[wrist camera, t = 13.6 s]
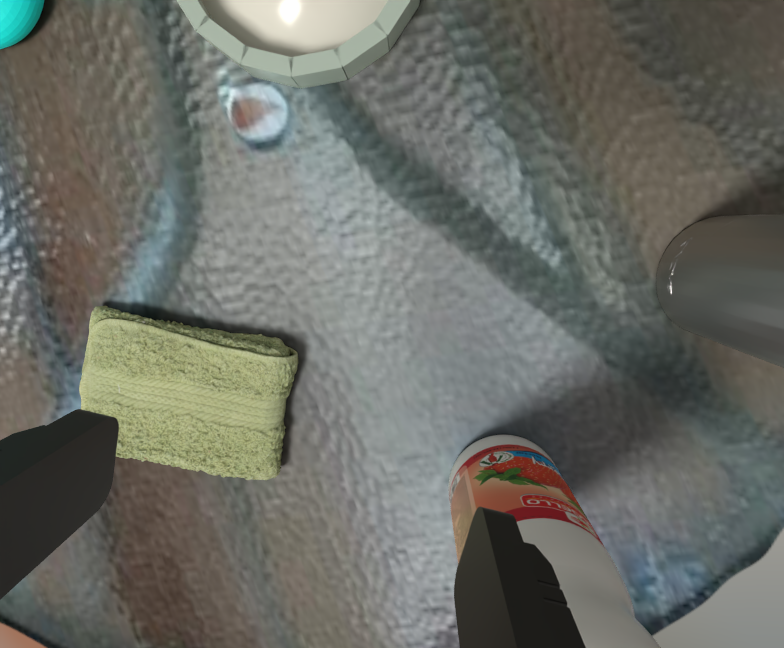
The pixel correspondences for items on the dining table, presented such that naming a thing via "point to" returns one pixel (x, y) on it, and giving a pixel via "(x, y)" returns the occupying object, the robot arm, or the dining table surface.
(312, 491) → the dining table surface
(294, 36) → the round tray
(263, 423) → the washcloth
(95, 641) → the dining table surface
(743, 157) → the dining table surface
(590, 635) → the fruit juice
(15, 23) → the donuts
